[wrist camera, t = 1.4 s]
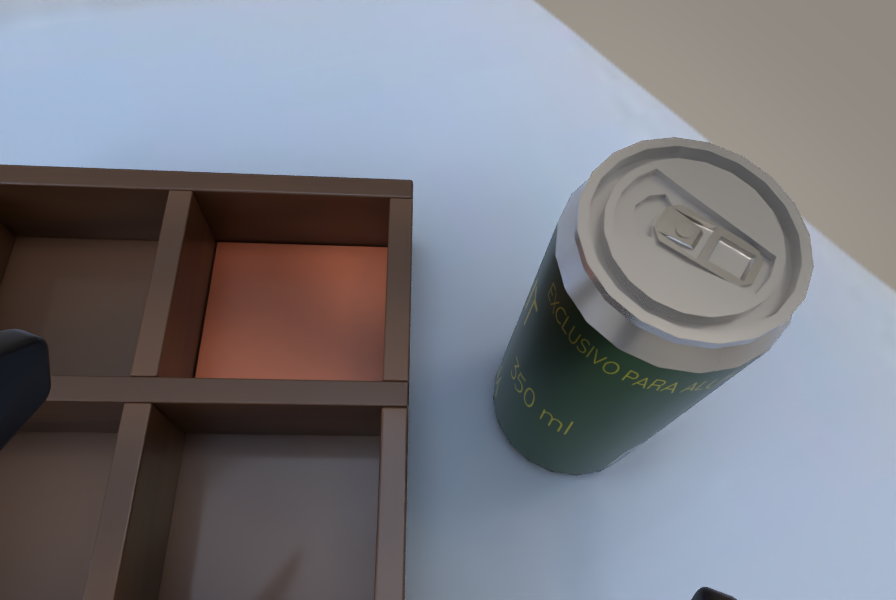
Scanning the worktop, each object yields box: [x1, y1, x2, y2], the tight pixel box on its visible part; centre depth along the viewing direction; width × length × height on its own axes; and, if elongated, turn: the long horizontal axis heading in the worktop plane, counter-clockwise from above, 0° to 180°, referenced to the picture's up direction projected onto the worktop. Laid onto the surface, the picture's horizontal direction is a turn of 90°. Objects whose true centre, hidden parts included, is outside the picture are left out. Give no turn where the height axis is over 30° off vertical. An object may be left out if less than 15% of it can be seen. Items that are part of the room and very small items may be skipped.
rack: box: [0, 165, 413, 600], centre depth 21 cm, size 16×16×4 cm
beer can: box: [493, 137, 814, 475], centre depth 19 cm, size 5×5×12 cm
